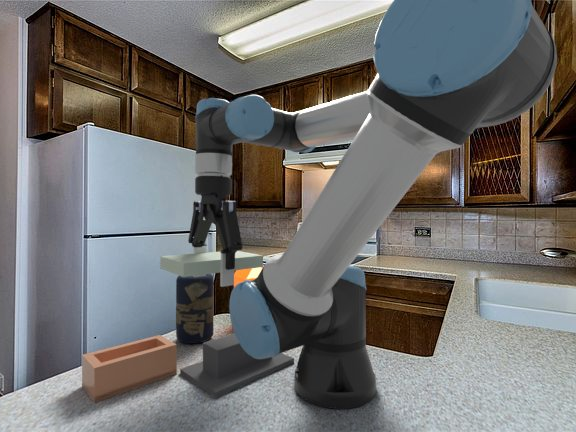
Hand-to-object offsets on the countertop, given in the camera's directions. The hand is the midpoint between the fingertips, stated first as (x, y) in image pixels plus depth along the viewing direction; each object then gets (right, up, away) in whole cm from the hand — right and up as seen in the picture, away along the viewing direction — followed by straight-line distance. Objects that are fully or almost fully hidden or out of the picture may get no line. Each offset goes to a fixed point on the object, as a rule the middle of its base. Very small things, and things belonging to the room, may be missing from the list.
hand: (212, 280), depth 70 cm
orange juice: (+5, -19, +29) cm, 35 cm away
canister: (-9, -19, +17) cm, 27 cm away
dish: (-15, -19, -5) cm, 24 cm away
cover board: (0, +3, 0) cm, 3 cm away
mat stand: (+6, -19, 0) cm, 19 cm away
